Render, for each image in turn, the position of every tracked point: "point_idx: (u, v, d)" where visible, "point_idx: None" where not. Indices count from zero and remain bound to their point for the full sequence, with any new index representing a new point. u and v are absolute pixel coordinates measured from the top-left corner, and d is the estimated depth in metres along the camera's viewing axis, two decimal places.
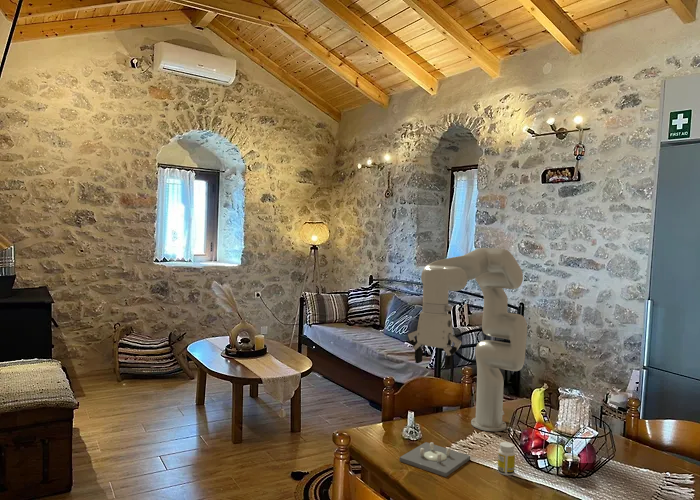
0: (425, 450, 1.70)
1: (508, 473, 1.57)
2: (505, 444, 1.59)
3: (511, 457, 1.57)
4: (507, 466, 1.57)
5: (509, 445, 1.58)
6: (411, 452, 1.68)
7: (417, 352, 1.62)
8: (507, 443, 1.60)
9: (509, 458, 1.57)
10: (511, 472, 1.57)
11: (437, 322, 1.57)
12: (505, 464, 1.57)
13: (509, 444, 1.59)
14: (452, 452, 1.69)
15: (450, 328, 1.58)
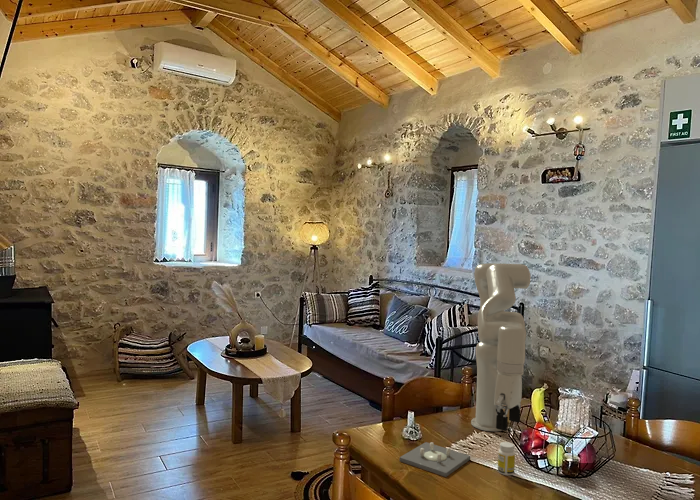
0: (425, 450, 1.70)
1: (508, 473, 1.57)
2: (505, 444, 1.59)
3: (511, 457, 1.57)
4: (507, 466, 1.57)
5: (509, 445, 1.58)
6: (411, 452, 1.68)
7: None
8: (507, 443, 1.60)
9: (509, 458, 1.57)
10: (511, 472, 1.57)
11: (520, 380, 1.58)
12: (505, 464, 1.57)
13: (509, 444, 1.59)
14: (452, 452, 1.69)
15: None
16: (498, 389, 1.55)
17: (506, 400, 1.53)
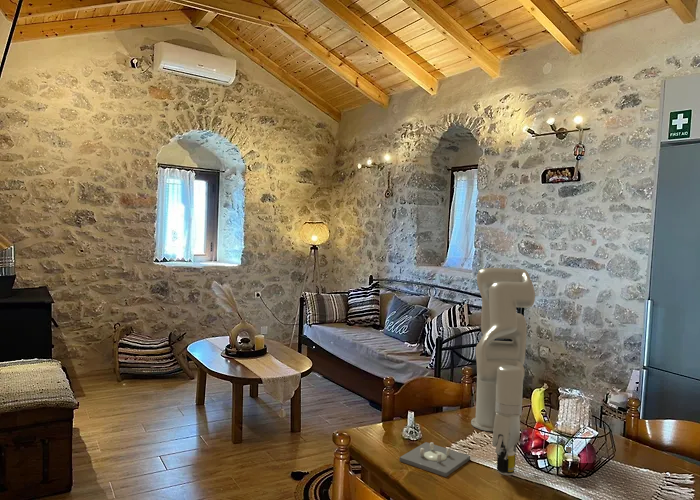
0: (425, 450, 1.70)
1: (508, 473, 1.57)
2: None
3: (511, 457, 1.57)
4: None
5: None
6: (411, 452, 1.68)
7: None
8: None
9: (509, 458, 1.57)
10: (511, 472, 1.57)
11: (518, 419, 1.59)
12: None
13: None
14: (452, 452, 1.69)
15: None
16: (496, 430, 1.55)
17: (504, 441, 1.54)
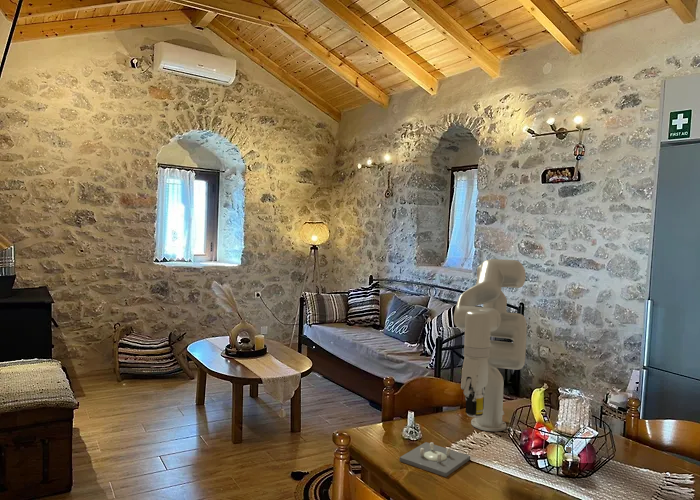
0: (425, 450, 1.70)
1: (476, 415, 1.59)
2: None
3: (479, 399, 1.59)
4: None
5: None
6: (411, 452, 1.68)
7: None
8: None
9: (477, 401, 1.59)
10: (479, 414, 1.60)
11: (486, 363, 1.61)
12: None
13: None
14: (452, 452, 1.69)
15: None
16: (465, 373, 1.58)
17: (472, 383, 1.57)
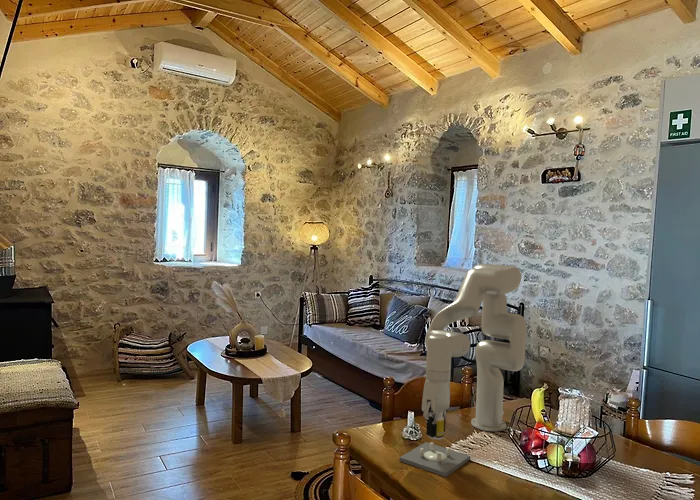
0: (425, 450, 1.70)
1: (437, 437, 1.63)
2: None
3: (439, 422, 1.63)
4: None
5: None
6: (411, 452, 1.68)
7: None
8: None
9: (438, 423, 1.63)
10: (440, 436, 1.63)
11: (447, 386, 1.65)
12: None
13: None
14: (452, 452, 1.69)
15: None
16: (425, 395, 1.62)
17: (432, 406, 1.60)
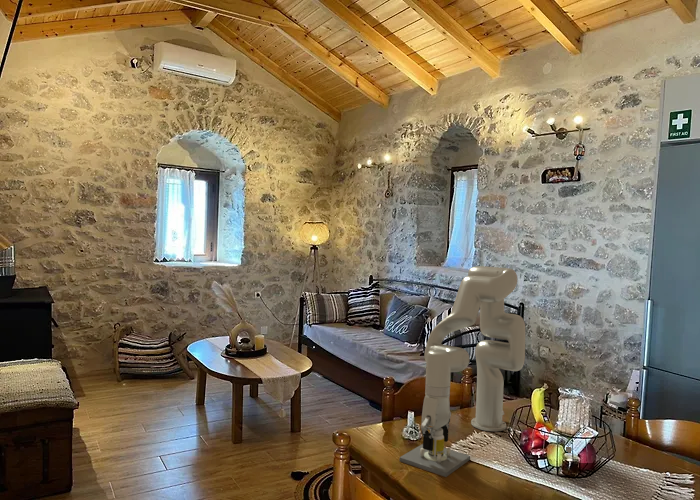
0: (425, 450, 1.70)
1: None
2: None
3: (439, 441, 1.64)
4: (436, 449, 1.64)
5: (438, 429, 1.65)
6: (411, 452, 1.68)
7: None
8: None
9: (438, 442, 1.64)
10: None
11: (447, 401, 1.65)
12: (434, 447, 1.64)
13: None
14: (452, 452, 1.69)
15: None
16: (425, 411, 1.62)
17: (431, 422, 1.61)
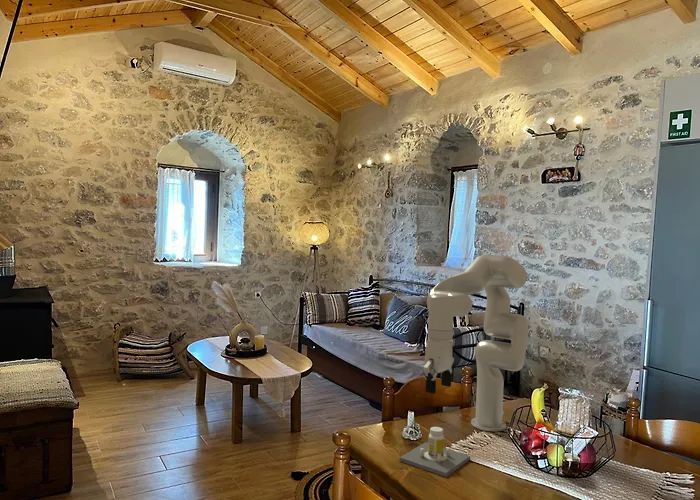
0: (425, 450, 1.70)
1: None
2: (435, 429, 1.66)
3: (439, 441, 1.64)
4: (436, 449, 1.64)
5: (438, 429, 1.65)
6: (411, 452, 1.68)
7: None
8: (437, 428, 1.67)
9: (438, 442, 1.64)
10: None
11: (450, 346, 1.65)
12: (434, 447, 1.64)
13: (438, 428, 1.66)
14: (452, 452, 1.69)
15: None
16: (427, 354, 1.62)
17: (434, 365, 1.60)
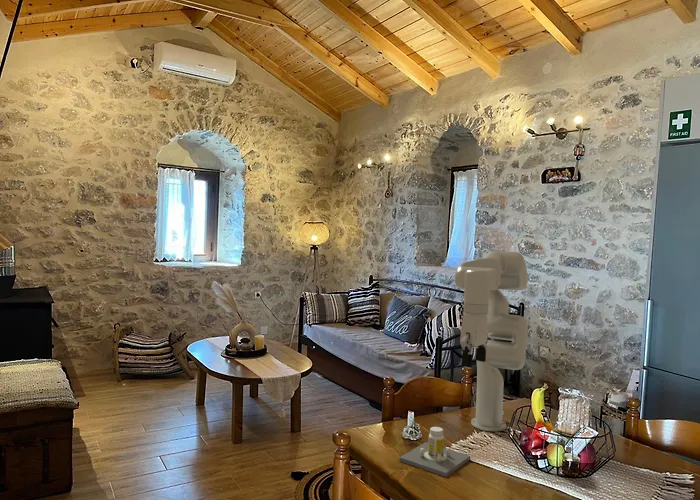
0: (425, 450, 1.70)
1: None
2: (435, 429, 1.66)
3: (439, 441, 1.64)
4: (436, 449, 1.64)
5: (438, 429, 1.65)
6: (411, 452, 1.68)
7: None
8: (437, 428, 1.67)
9: (438, 442, 1.64)
10: None
11: (485, 320, 1.66)
12: (434, 447, 1.64)
13: (438, 428, 1.66)
14: (452, 452, 1.69)
15: None
16: (464, 328, 1.63)
17: (471, 338, 1.61)
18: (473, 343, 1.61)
